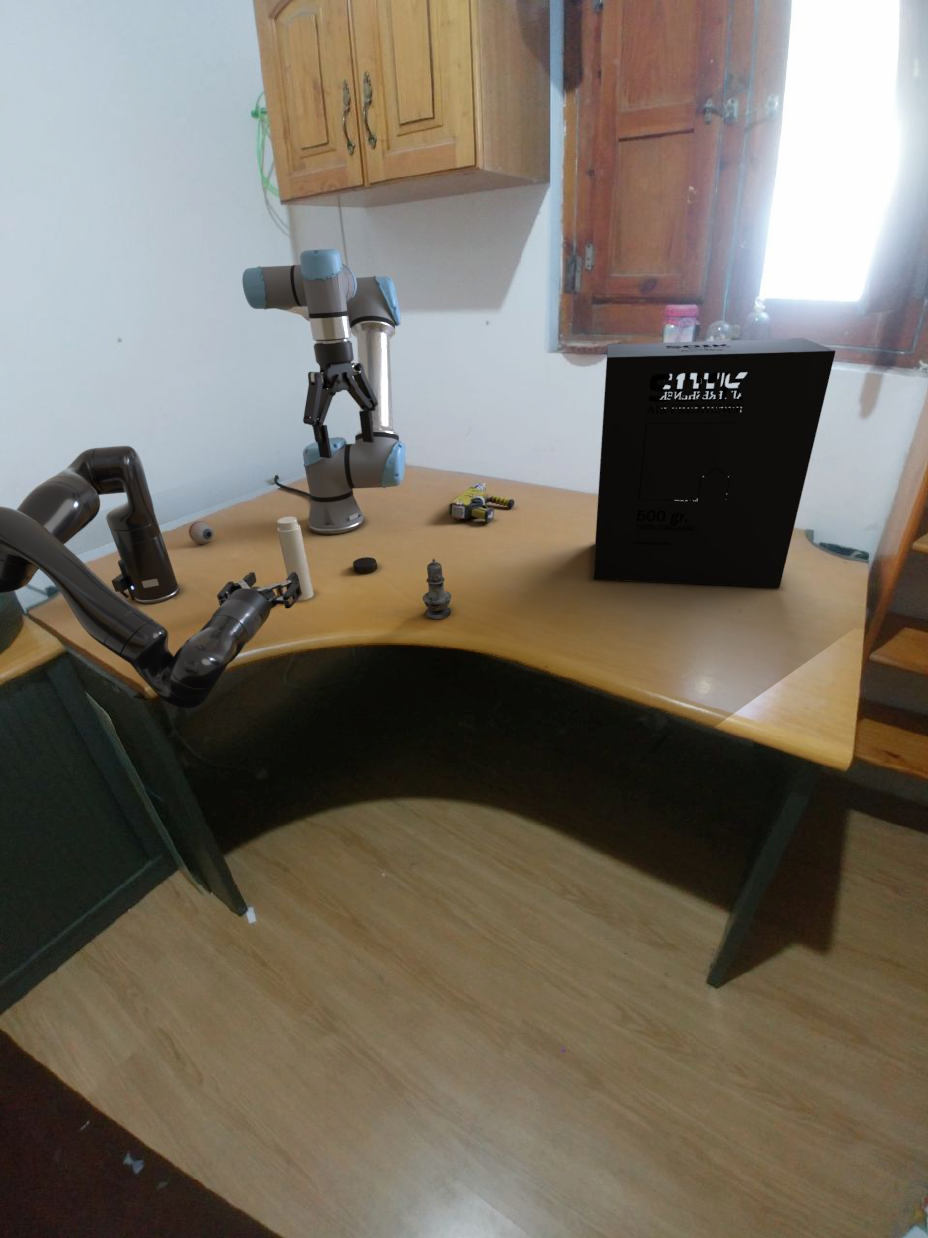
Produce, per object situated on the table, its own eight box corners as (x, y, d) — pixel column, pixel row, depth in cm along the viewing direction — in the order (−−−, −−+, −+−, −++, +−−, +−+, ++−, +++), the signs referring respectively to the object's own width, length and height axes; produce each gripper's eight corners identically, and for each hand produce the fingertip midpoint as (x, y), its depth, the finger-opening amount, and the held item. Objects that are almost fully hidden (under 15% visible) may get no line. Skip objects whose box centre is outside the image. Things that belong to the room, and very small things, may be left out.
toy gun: (522, 487, 180) (475, 480, 184) (500, 511, 160) (447, 502, 164) (521, 502, 182) (474, 495, 186) (499, 527, 162) (447, 519, 166)
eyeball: (202, 548, 159) (196, 527, 156) (187, 544, 162) (181, 523, 159) (221, 540, 163) (215, 519, 160) (206, 537, 166) (200, 516, 163)
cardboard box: (759, 548, 141) (803, 338, 119) (779, 587, 124) (835, 350, 102) (595, 543, 149) (607, 344, 126) (593, 579, 132) (607, 357, 109)
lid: (358, 576, 140) (357, 569, 139) (350, 567, 144) (349, 560, 143) (380, 570, 142) (379, 563, 141) (372, 562, 146) (371, 555, 145)
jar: (298, 590, 135) (282, 515, 126) (317, 591, 134) (302, 516, 125) (288, 600, 131) (271, 523, 122) (307, 601, 130) (291, 524, 121)
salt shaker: (449, 620, 120) (445, 565, 114) (420, 618, 121) (415, 564, 115) (455, 606, 125) (451, 552, 119) (427, 604, 126) (422, 551, 120)
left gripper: (206, 636, 107) (244, 592, 121) (282, 637, 105) (313, 593, 119) (194, 599, 103) (235, 558, 117) (273, 600, 101) (306, 558, 115)
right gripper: (359, 334, 130) (372, 434, 140) (270, 348, 112) (292, 462, 122) (386, 334, 126) (397, 437, 136) (299, 349, 108) (319, 466, 119)
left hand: (274, 576), depth 118 cm, fingers open, 8 cm apart
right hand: (348, 449), depth 129 cm, fingers open, 13 cm apart
